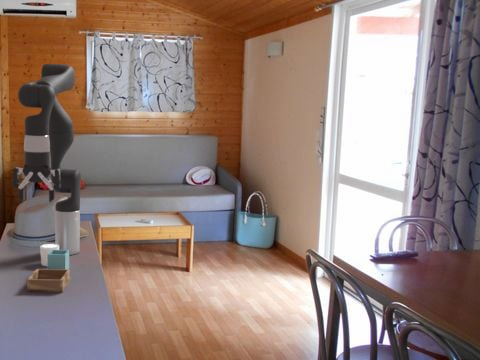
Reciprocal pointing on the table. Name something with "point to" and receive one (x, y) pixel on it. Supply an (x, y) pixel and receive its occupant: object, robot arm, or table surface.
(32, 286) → the walnut crate
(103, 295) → the table surface
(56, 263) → the teal crate
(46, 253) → the white cylinder
